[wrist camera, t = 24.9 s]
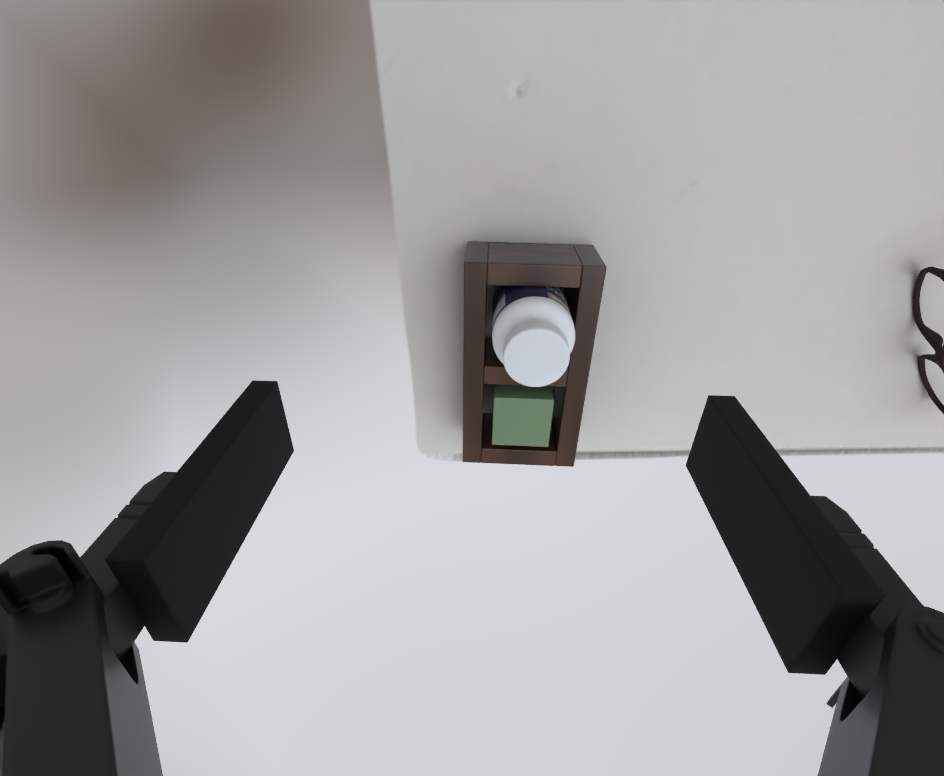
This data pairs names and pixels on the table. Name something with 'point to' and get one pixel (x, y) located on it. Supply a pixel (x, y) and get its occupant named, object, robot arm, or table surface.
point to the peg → (522, 415)
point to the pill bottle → (532, 333)
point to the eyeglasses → (928, 335)
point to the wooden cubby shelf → (482, 366)
